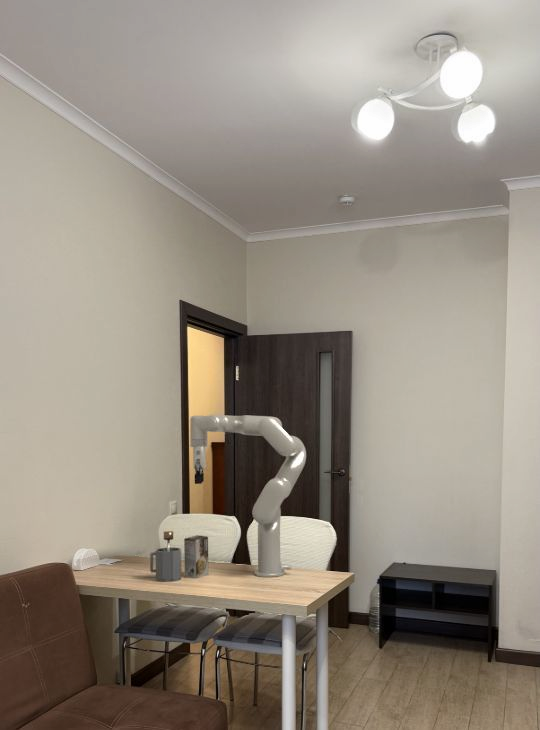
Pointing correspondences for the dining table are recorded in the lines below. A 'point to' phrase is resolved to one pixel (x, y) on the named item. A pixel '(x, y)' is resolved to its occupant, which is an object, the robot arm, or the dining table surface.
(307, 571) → the dining table surface
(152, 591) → the dining table surface
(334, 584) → the dining table surface
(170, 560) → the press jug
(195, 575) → the coffee box
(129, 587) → the dining table surface
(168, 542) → the plunger
